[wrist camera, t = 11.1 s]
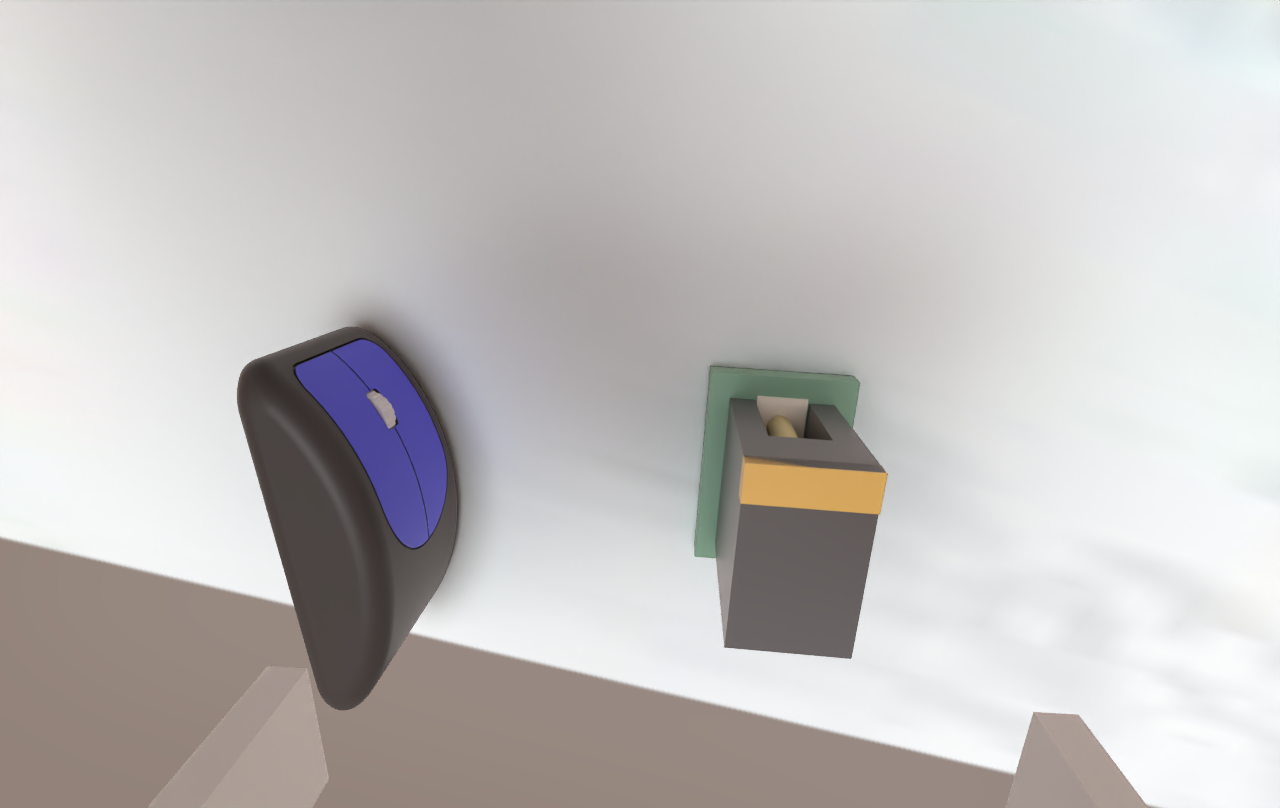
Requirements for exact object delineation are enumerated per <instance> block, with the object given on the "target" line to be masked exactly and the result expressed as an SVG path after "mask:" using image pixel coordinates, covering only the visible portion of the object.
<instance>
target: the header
mask: <svg viewBox="0 0 1280 808" xmlns="http://www.w3.org/2000/svg"><path fill="white" fill-rule="evenodd" d="M859 387H860V382H859V381H858V380H857V379H856V378H855V377H854V376H847V375H833V374H818V373H803V372H789V371H774V370H759V369H745V368H730V367H715V366H710V377H709V388H708V399H707V410H706V421H705V432H704V443H703V454H702V465H701V476H700V487H699V498H698V509H697V520H696V531H695V542H694V552H695V557H707V558H716V551H715V539H716V529H717V519H718V509H719V499H720V490H721V480H722V470H723V460H724V450H725V440H726V430H727V421H728V411H729V401H730V398H739V399H753V400H755V401H756V404H757V407H758V410H759V412H760V415H761V418H762V420H763V423H764V426H765V428H766V431H767V434H768V436H778V437H792V438H805V431H806V424H807V417H808V410H809V403H810V404H824V405H835V406H836V408H837V409H838V410H839V411H840V413H841V414H842V415H843V417H844V418H845V419H846V421H847V422H848V423H849V425H850V426H851V427H852V429H853V423H854V417H855V411H856V405H857V399H858V393H859Z"/></svg>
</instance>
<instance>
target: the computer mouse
mask: <svg viewBox="0 0 1280 808" xmlns="http://www.w3.org/2000/svg"><path fill="white" fill-rule="evenodd" d="M237 403H238V409H239V414H240V417H241V421H242V424H243V428H244V431H245V435H246V438H247V442H248V445H249V449H250V452H251V456H252V459H253V463H254V466H255V470H256V474H257V477H258V481H259V484H260V488H261V491H262V495H263V498H264V502H265V505H266V509H267V512H268V516H269V519H270V523H271V526H272V530H273V533H274V537H275V540H276V544H277V547H278V551H279V554H280V558H281V561H282V565H283V568H284V572H285V575H286V579H287V582H288V586H289V589H290V593H291V596H292V600H293V603H294V607H295V610H296V613H297V617H298V620H299V624H300V628H301V631H302V635H303V638H304V642H305V645H306V649H307V653H308V656H309V660H310V663H311V666H312V670H313V674H314V677H315V681H316V684H317V687H318V690H319V693H320V695H321V696H322V698H323V699H324V701H325V702H326V703H327V704H328V705H330V706H331V707H333V708H335V709H337V710H349V709H352V708H354V707H356V706H357V705H359V704H360V703H361V702H362V701H363V700H364V699H365V698H366V697H367V696H368V695H369V694H370V692H371V690H372V689H373V688H374V686H375V685H376V683H377V682H378V680H379V679H380V677H381V675H382V674H383V672H384V671H385V669H386V668H387V666H388V665H389V663H390V661H391V660H392V658H393V657H394V655H395V654H396V652H397V651H398V649H399V647H400V646H401V644H402V642H403V641H404V640H405V638H406V637H407V635H408V634H409V632H410V630H411V629H412V627H413V626H414V624H415V623H416V621H417V620H418V618H419V616H420V615H421V613H422V612H423V610H424V609H425V607H426V606H427V604H428V602H429V601H430V599H431V598H432V596H433V595H434V593H435V592H436V590H437V588H438V587H439V585H440V583H441V581H442V579H443V577H444V575H445V572H446V570H447V567H448V564H449V561H450V558H451V554H452V551H453V546H454V541H455V534H456V524H457V493H456V484H455V477H454V471H453V466H452V462H451V457H450V453H449V450H448V447H447V443H446V440H445V437H444V434H443V432H442V429H441V426H440V424H439V422H438V419H437V417H436V415H435V413H434V411H433V409H432V407H431V405H430V403H429V401H428V399H427V397H426V395H425V394H424V392H423V390H422V389H421V387H420V386H419V384H418V382H417V381H416V379H415V378H414V377H413V375H412V374H411V372H410V371H409V370H408V368H407V367H406V366H405V364H404V363H403V362H402V361H401V360H400V358H399V357H398V356H397V355H396V354H395V353H394V352H393V351H392V350H391V349H390V348H389V347H388V346H387V345H386V344H385V343H384V342H383V341H381V340H380V339H379V338H377V337H376V336H374V335H373V334H371V333H369V332H367V331H365V330H363V329H361V328H357V327H345V328H342V329H339V330H336V331H333V332H331V333H328V334H325V335H322V336H319V337H317V338H314V339H311V340H308V341H306V342H303V343H300V344H297V345H294V346H292V347H289V348H286V349H283V350H280V351H278V352H275V353H272V354H269V355H266V356H264V357H261V358H258V359H255V360H253V361H251V362H250V363H248V364H247V365H246V366H245V367H244V369H243V370H242V372H241V374H240V377H239V382H238V388H237ZM422 495H423V496H422Z"/></svg>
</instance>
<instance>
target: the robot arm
mask: <svg viewBox="0 0 1280 808" xmlns="http://www.w3.org/2000/svg"><path fill="white" fill-rule="evenodd" d="M328 780H329V777H328V772H327V766H326V761H325V756H324V751H323V747H322V741H321V736H320V731H319V726H318V720H317V715H316V710H315V705H314V700H313V695H312V690H311V685H310V680H309V675H308V669H305V668H288V667H272V666H267V667H266V669H265V670H264V671H263V672H262V673H261V675H260V676H259V677H258V678H257V679H256V680H255V682H254V683H253V684H252V685H251V686H250V687H249V688H248V690H247V691H246V692H245V693H244V694H243V695H242V697H241V698H240V699H239V700H238V701H237V703H236V704H235V705H234V706H233V707H232V709H231V710H230V711H229V712H228V713H227V714H226V715H225V717H224V718H223V719H222V720H221V721H220V722H219V724H218V725H217V726H216V727H215V728H214V730H213V731H212V732H211V733H210V734H209V735H208V737H207V738H206V739H205V740H204V741H203V742H202V744H201V745H200V746H199V747H198V748H197V750H196V751H195V752H194V753H193V754H192V755H191V756H190V758H189V759H188V760H187V761H186V762H185V764H184V765H183V766H182V767H181V768H180V769H179V771H178V772H177V773H176V774H175V775H174V777H173V778H172V779H171V780H170V781H169V783H167V785H166V786H165V787H164V788H163V789H162V791H161V792H160V793H159V794H158V795H157V796H156V798H155V799H154V800H153V801H152V802H151V804H150V805H149V806H148V807H147V808H312V807H313V805H314V803H315V802H316V800H317V798H318V797H319V795H320V793H321V792H322V790H323V788H324V787H325V785H326V783H327V781H328ZM1006 808H1148V807H1147V805H1146V804H1145V803H1144V801H1143V800H1142V799H1141V797H1140V796H1139V795H1138V793H1137V792H1136V791H1135V789H1134V788H1133V787H1132V785H1131V784H1130V783H1129V781H1128V780H1127V779H1126V777H1125V776H1124V775H1123V773H1122V772H1121V771H1120V769H1119V768H1118V767H1117V765H1116V764H1115V763H1114V761H1113V760H1112V759H1111V757H1110V756H1109V755H1108V753H1107V752H1106V751H1105V749H1104V748H1103V747H1102V745H1101V744H1100V743H1099V741H1098V740H1097V739H1096V737H1095V736H1094V735H1093V733H1092V732H1091V731H1090V729H1089V728H1088V727H1087V725H1086V724H1085V723H1084V721H1083V720H1082V719H1081V717H1080V716H1079V715H1073V714H1056V713H1040V712H1033V716H1032V719H1031V723H1030V726H1029V730H1028V733H1027V736H1026V740H1025V743H1024V747H1023V750H1022V754H1021V757H1020V760H1019V764H1018V767H1017V771H1016V774H1015V778H1014V781H1013V785H1012V788H1011V792H1010V795H1009V798H1008V802H1007V805H1006Z"/></svg>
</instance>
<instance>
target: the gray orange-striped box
mask: <svg viewBox="0 0 1280 808" xmlns="http://www.w3.org/2000/svg"><path fill="white" fill-rule="evenodd" d="M887 475H888V474H887V473H886V471H885V470H884V469H883V467H882V466H881V465H880V464H879V463H878V461H877V460H876V459H875V457H874V456H873V455H872V454H871V452H870V451H869V450H868V448H867V447H866V446H865V444H864V443H863V442H862V440H861V439H860V438H859V436H858V435H857V434H856V433H855V431H854V430H853V429H852V427H851V426H850V425H849V423H848V422H847V421H846V419H845V418H844V417H843V415H842V414H841V413H840V411H839V410H838V409H837V408H836V406H835V405H824V404H810V403H809V410H808V417H807V424H806V431H805V438H792V437H778V436H768V434H767V431H766V428H765V426H764V423H763V420H762V418H761V415H760V412H759V410H758V407H757V404H756V401H755V400H753V399H739V398H730V401H729V411H728V421H727V430H726V440H725V450H724V460H723V470H722V480H721V490H720V499H719V509H718V519H717V529H716V539H715V551H716V562H717V573H718V583H719V594H720V605H721V616H722V626H723V637H724V647H725V648H736V649H748V650H759V651H770V652H781V653H793V654H804V655H815V656H826V657H838V658H849V659H851V658H852V652H853V647H854V642H855V636H856V631H857V626H858V620H859V615H860V610H861V604H862V599H863V594H864V588H865V583H866V578H867V572H868V567H869V562H870V556H871V551H872V546H873V540H874V535H875V530H876V524H877V519H878V514H880V512H881V506H882V501H883V496H884V491H885V485H886V480H887Z"/></svg>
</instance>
